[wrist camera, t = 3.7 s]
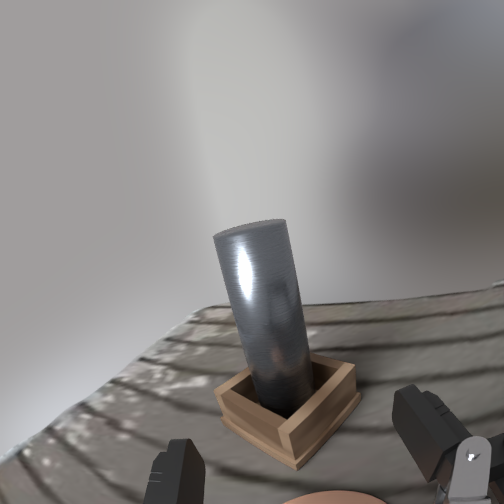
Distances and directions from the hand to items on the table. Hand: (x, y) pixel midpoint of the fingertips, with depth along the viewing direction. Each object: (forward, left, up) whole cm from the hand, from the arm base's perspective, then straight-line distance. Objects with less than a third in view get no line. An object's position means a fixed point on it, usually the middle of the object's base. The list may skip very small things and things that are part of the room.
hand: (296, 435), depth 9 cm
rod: (-7, -9, -10) cm, 15 cm away
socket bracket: (-7, -9, -11) cm, 16 cm away
